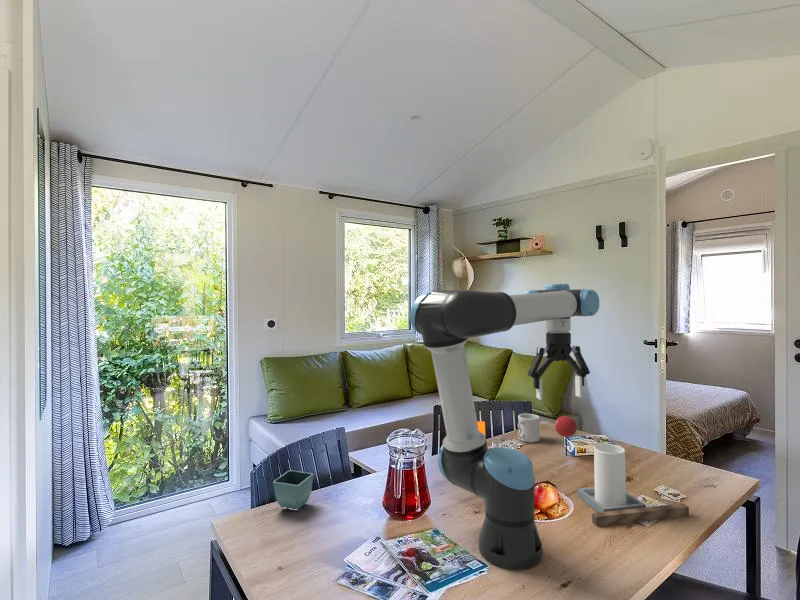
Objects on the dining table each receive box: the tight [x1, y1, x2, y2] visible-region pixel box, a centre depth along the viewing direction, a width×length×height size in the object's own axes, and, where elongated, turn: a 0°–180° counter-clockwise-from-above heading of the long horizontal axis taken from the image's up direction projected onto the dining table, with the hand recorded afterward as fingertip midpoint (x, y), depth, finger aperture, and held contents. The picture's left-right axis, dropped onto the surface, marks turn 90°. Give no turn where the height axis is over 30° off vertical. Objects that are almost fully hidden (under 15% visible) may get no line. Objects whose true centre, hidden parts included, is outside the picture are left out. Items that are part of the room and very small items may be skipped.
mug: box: [517, 413, 541, 443], centre depth 184 cm, size 12×9×10 cm
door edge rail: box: [591, 503, 690, 527], centre depth 119 cm, size 28×2×2 cm, turn 99°
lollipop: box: [554, 415, 578, 456], centre depth 166 cm, size 8×8×15 cm
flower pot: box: [272, 469, 314, 510], centre depth 130 cm, size 9×9×9 cm
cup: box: [593, 443, 627, 507], centre depth 128 cm, size 8×8×16 cm
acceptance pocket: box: [576, 486, 647, 513], centre depth 128 cm, size 13×13×2 cm
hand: (559, 397), depth 140 cm, fingers open, 13 cm apart
